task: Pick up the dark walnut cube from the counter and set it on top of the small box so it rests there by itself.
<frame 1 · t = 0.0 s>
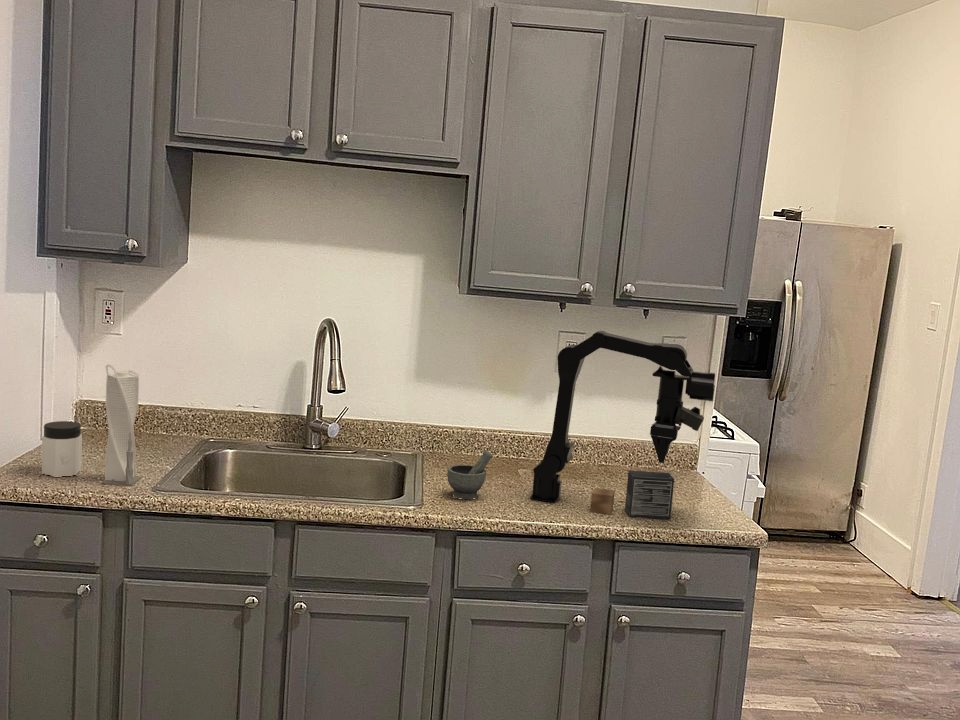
hand: (663, 458, 230), 15 cm above the countertop, tool pointing down, fingers open, 9 cm apart
block: (601, 511, 232), on the countertop
jar: (61, 473, 227), on the countertop
small box: (647, 515, 233), on the countertop
mortar and pestle: (467, 497, 235), on the countertop
skyscraper: (119, 481, 225), on the countertop
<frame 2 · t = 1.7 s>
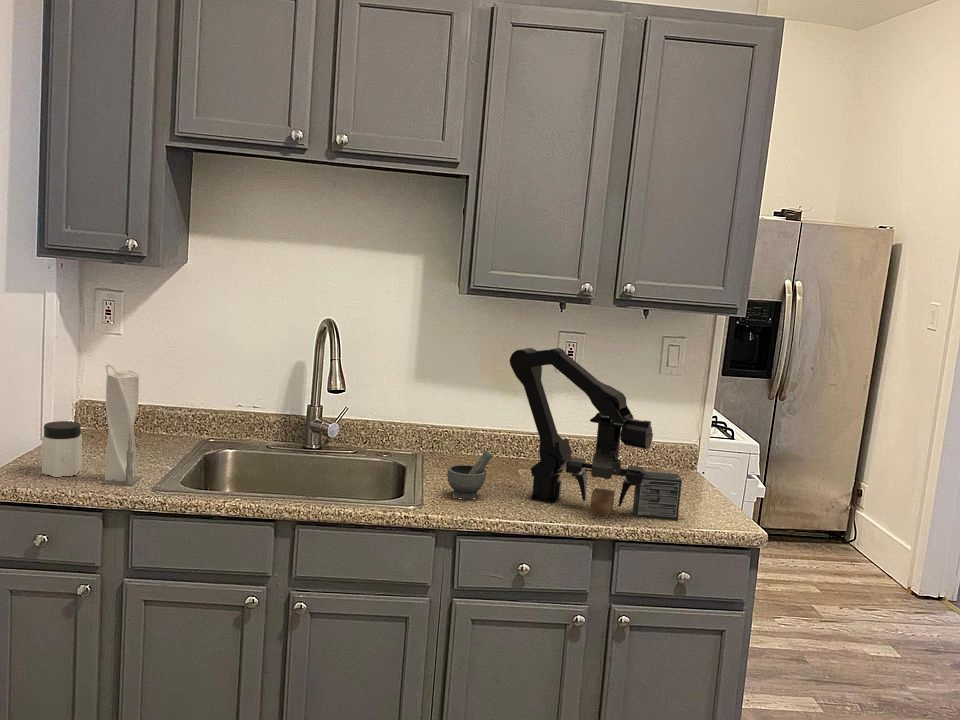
hand: (601, 503, 232), 2 cm above the countertop, tool pointing down, fingers open, 8 cm apart
small box: (654, 516, 233), on the countertop
everything else where it was.
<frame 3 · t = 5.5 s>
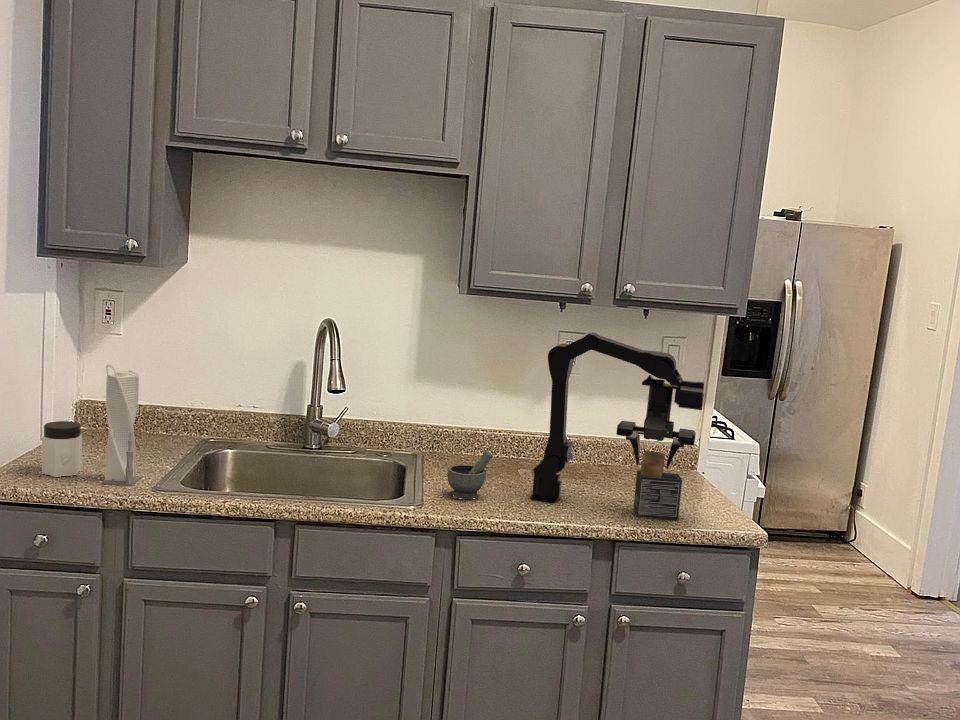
hand: (652, 466, 231), 12 cm above the countertop, tool pointing down, fingers open, 7 cm apart
block: (651, 473, 231), point 10 cm above the countertop, touching small box
small box: (655, 516, 233), on the countertop, touching block
everything else where it was.
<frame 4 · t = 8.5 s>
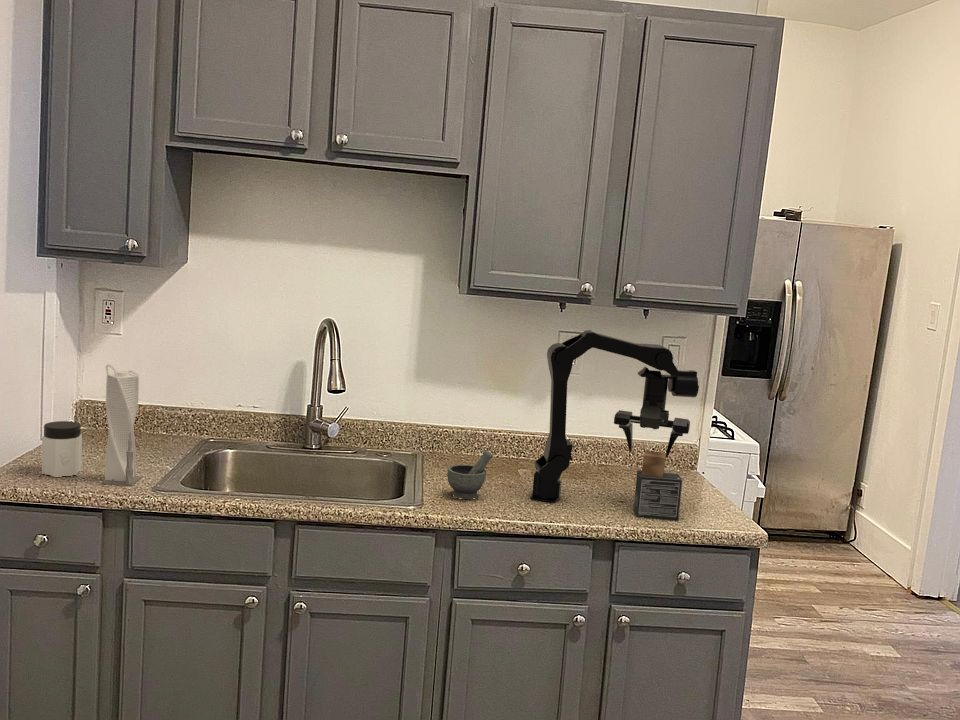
hand: (648, 454, 240), 13 cm above the countertop, tool pointing down, fingers open, 9 cm apart
nothing on the countertop moved.
at the end: block inside the target area on the small box (1.8 cm from its centre), point 10.7 cm above the small box's base; block tilted 0°; the gripper is holding nothing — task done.
